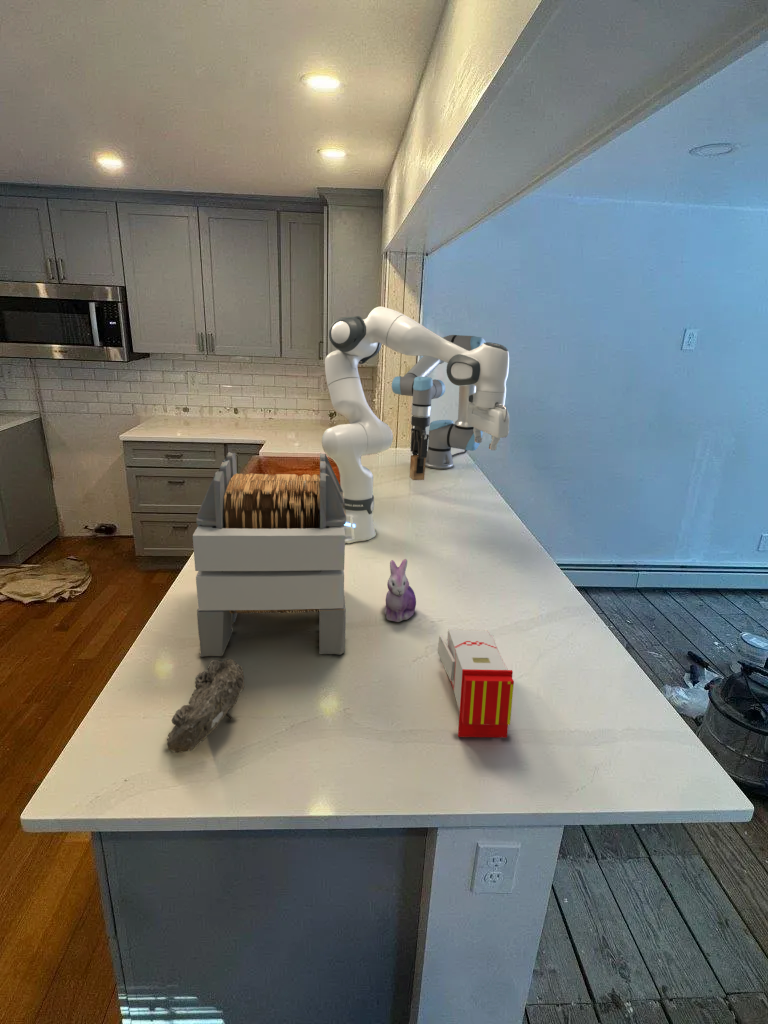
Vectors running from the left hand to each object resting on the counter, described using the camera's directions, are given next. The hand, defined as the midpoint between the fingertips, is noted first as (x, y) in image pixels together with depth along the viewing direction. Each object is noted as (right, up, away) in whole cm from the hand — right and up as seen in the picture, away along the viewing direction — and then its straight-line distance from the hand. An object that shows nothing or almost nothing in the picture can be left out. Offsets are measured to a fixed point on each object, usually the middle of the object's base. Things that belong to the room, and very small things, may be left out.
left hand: (484, 446), depth 172 cm
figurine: (-27, -47, -25) cm, 59 cm away
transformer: (-57, -47, -29) cm, 80 cm away
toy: (-13, -58, -54) cm, 80 cm away
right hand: (-17, -3, +66) cm, 68 cm away
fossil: (-63, -59, -64) cm, 108 cm away
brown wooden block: (-17, -6, +67) cm, 69 cm away
